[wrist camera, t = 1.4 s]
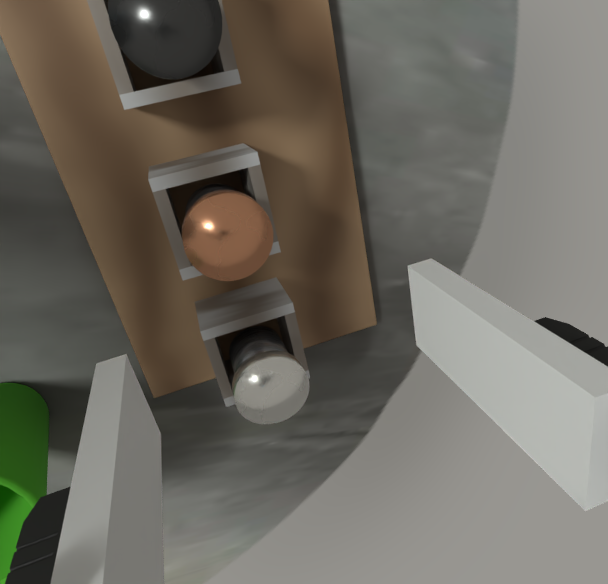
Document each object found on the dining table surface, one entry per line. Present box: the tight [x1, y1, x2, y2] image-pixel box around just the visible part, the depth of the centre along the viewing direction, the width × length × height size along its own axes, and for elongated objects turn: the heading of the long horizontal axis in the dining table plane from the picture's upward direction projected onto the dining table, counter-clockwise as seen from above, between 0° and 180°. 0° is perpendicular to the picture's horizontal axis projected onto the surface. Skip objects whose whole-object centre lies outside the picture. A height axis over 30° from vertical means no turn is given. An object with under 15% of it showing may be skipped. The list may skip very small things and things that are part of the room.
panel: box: [0, 0, 377, 407], centre depth 30 cm, size 18×26×6 cm
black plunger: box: [108, 0, 222, 79], centre depth 21 cm, size 4×4×5 cm
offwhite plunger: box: [229, 326, 309, 424], centre depth 30 cm, size 4×4×5 cm
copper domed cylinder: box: [182, 183, 273, 281], centre depth 26 cm, size 4×4×5 cm
